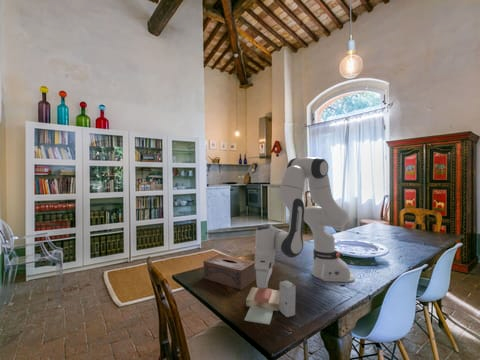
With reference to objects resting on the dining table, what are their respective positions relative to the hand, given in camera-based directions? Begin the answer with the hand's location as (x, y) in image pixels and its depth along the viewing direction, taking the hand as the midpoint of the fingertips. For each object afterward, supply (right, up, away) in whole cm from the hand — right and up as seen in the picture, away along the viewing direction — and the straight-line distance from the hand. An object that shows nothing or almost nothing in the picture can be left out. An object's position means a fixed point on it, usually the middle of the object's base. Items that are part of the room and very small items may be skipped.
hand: (265, 289), depth 110 cm
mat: (-4, -4, -14) cm, 15 cm away
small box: (+2, -4, +35) cm, 35 cm away
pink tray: (-2, -1, -6) cm, 6 cm away
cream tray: (-1, -4, -4) cm, 6 cm away
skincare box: (+8, -4, -13) cm, 15 cm away
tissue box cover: (-18, -4, +21) cm, 28 cm away
